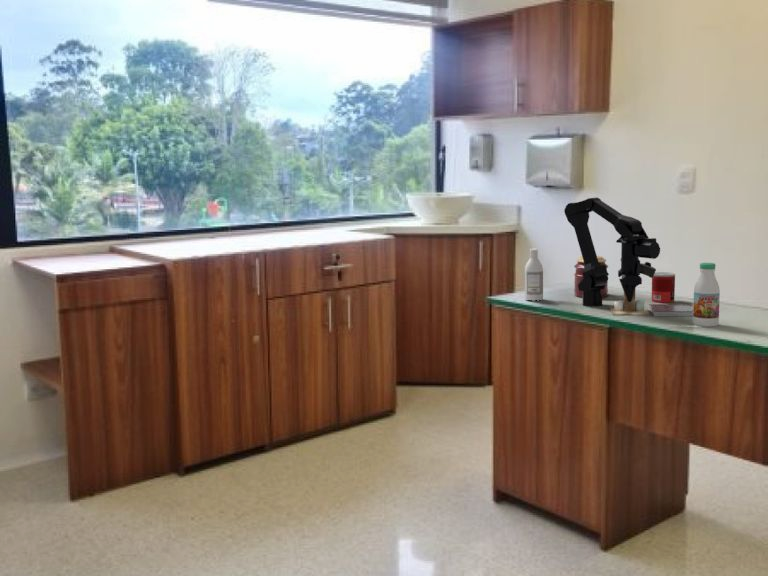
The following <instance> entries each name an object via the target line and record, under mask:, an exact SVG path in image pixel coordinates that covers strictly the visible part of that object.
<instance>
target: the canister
mask: <svg viewBox="0 0 768 576" xmlns="http://www.w3.org/2000/svg"><path fill="white" fill-rule="evenodd" d="M597 259H598V261H599V263H600V264H601V265H603V264H605V265H606V268H607V269H608V268H609V265H608V264H607V263H606V262H607V259H605V258H604V257H603V256H600V255H597ZM576 262H577V263H576V264H575V265H574V266H573V267H574V268H575V271H574V272H575V273H574V274H573V275H574V288H573V292H574V296H576V297H578V298H583V291H579V289H578V284H579V283H580V282H581V281H582V280H583V279H584V278H583V270H584V266H585V265H584V261H583V257H582V256H580V257H579V258H577V259H576ZM608 285H609V280H608V281H607V283H606V285H605V288H604V289H602V290H601V293H602V298H605V297H607V296H608V294H609V288H608Z"/></svg>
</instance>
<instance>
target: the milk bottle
mask: <svg viewBox="0 0 768 576" xmlns="http://www.w3.org/2000/svg"><path fill="white" fill-rule="evenodd" d="M699 271H700V272H699V276H698V278H697V280H696V282H695V285H694V288H693V299H692V300H693V301H692V302H693V303H692V310H693V316H692V323H693V324H694V325H695V326H697V327H702V328H703V327H704V328H711V327H713V328H714V327H717V326H719V323H720V322H719V321H720V320H719V319H720V286H719V283H718V280H717V278H716V275H715V271H716V263H715V262H701V263H699Z"/></svg>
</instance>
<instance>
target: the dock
mask: <svg viewBox="0 0 768 576" xmlns="http://www.w3.org/2000/svg"><path fill="white" fill-rule="evenodd" d="M648 309H649V310H650V312H651V313H652V315H653V316H654V317H657V316H659V317H693V308H692V307H691V306H690V305H689V304H682V303H681V304H679V303H678V304H673V303H657V304H656V303H655V304H654V303H652V304H651V303H650V304H648Z"/></svg>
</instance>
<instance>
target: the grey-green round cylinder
mask: <svg viewBox="0 0 768 576" xmlns="http://www.w3.org/2000/svg"><path fill="white" fill-rule="evenodd" d="M644 307H645V301H644V300H635V311H644Z"/></svg>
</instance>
